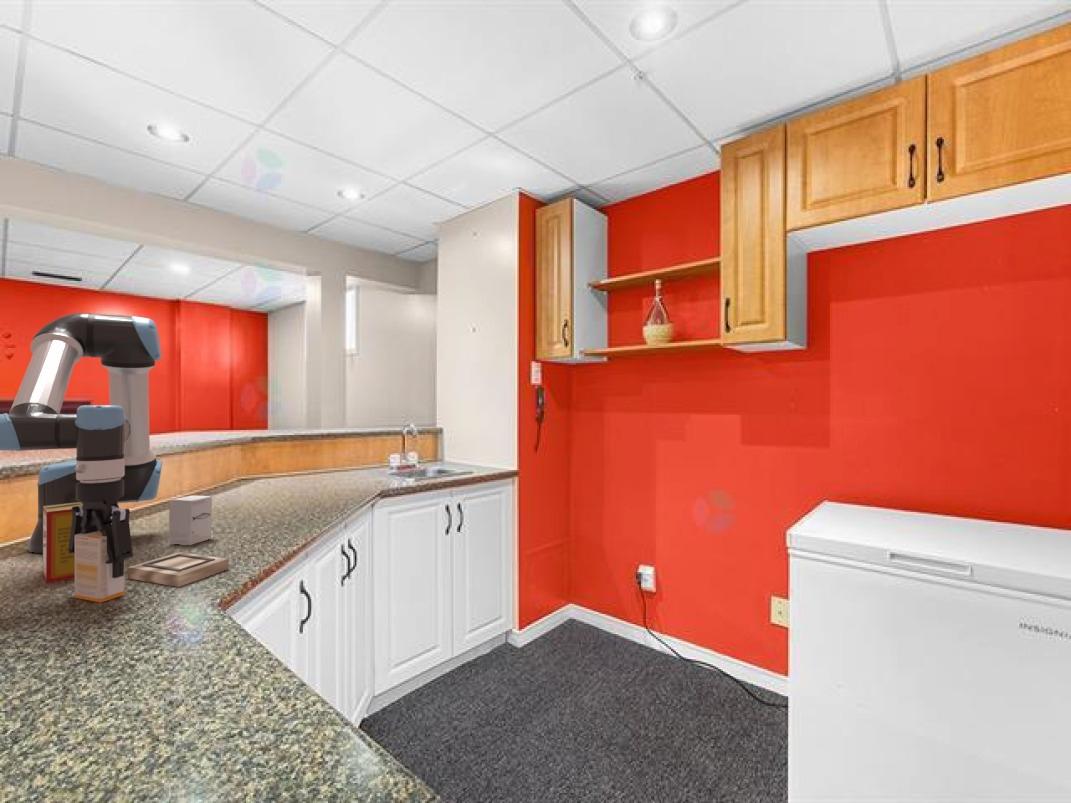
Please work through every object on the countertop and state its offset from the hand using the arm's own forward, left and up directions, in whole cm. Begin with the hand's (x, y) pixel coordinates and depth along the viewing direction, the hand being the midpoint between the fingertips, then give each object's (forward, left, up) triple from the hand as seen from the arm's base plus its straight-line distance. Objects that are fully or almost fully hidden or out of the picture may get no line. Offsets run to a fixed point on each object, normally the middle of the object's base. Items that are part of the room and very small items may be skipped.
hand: (100, 590), depth 102 cm
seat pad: (+2, +15, -1) cm, 15 cm away
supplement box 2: (-21, +35, -2) cm, 41 cm away
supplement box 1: (0, 0, -1) cm, 1 cm away
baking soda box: (-23, +6, -2) cm, 24 cm away
